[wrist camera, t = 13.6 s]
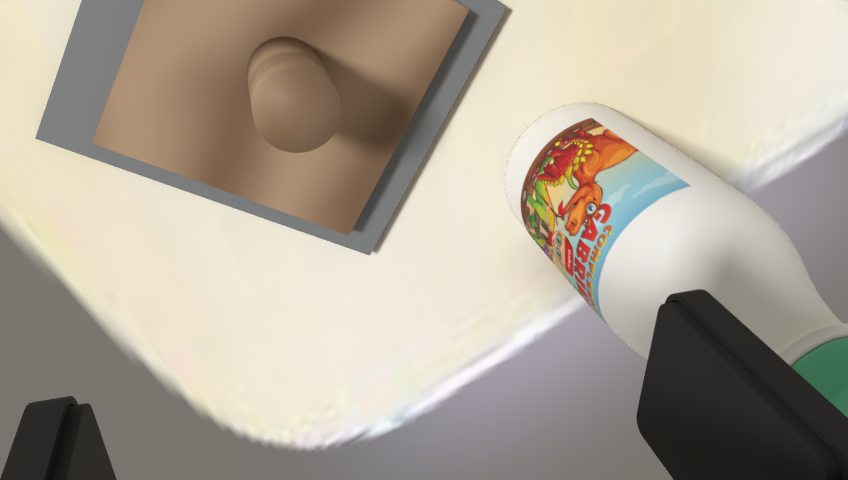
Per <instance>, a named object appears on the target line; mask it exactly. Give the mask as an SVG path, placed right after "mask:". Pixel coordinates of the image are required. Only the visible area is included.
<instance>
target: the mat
mask: <svg viewBox="0 0 848 480" xmlns="http://www.w3.org/2000/svg"><path fill="white" fill-rule="evenodd" d="M454 1H456V2H458V3H459V4H461V5H463V6H465V7H466V8H468V9H470V10H469V12H468V14H467V15H466V17H465V19H464V21H463V23H462V25H461V27H460V29H459V30H458V32H457V34H456V36H455V38H454V40H453V42H452V44H451V45H450V47H449V49H448V51H447V53H446V55H445V57H444V59H443V60H442V62H441V64H440V66H439V68H438V70H437V72H436V73H435V75H434V77H433V79H432V81H431V83H430V85H429V87H428V88H427V90H426V92H425V94H424V96H423V98H422V100H421V102H420V103H419V105H418V107H417V109H416V111H415V113H414V115H413V117H412V118H411V120H410V122H409V124H408V126H407V128H406V130H405V132H404V133H403V135H402V137H401V139H400V141H399V143H398V145H397V147H396V148H395V150H394V152H393V154H392V156H391V158H390V160H389V162H388V163H387V165H386V167H385V169H384V171H383V173H382V175H381V176H380V178H379V180H378V182H377V184H376V186H375V188H374V190H373V191H372V193H371V195H370V197H369V199H368V201H367V203H366V205H365V206H364V208H363V210H362V212H361V214H360V216H359V218H358V220H357V221H356V223H355V225H354V227H353V229H352V231H351V233H350V235H346V234H343V233H340V232H337V231H335V230H332V229H329V228H326V227H324V226H321V225H318V224H315V223H312V222H310V221H307V220H304V219H301V218H298V217H296V216H293V215H290V214H287V213H284V212H282V211H279V210H276V209H273V208H271V207H268V206H265V205H262V204H259V203H257V202H254V201H251V200H248V199H245V198H243V197H240V196H237V195H234V194H232V193H229V192H226V191H223V190H220V189H218V188H215V187H212V186H209V185H206V184H204V183H201V182H198V181H195V180H193V179H190V178H187V177H184V176H181V175H179V174H176V173H173V172H170V171H167V170H165V169H162V168H159V167H156V166H154V165H151V164H148V163H145V162H142V161H140V160H137V159H134V158H131V157H128V156H126V155H123V154H120V153H117V152H115V151H112V150H109V149H106V148H103V147H101V146H98V145H95V144H92V141H93V139H94V136H95V133H96V130H97V128H98V125H99V122H100V120H101V117H102V114H103V111H104V109H105V106H106V103H107V101H108V98H109V95H110V92H111V90H112V87H113V84H114V82H115V79H116V76H117V73H118V71H119V68H120V65H121V63H122V60H123V57H124V54H125V52H126V49H127V46H128V44H129V41H130V38H131V35H132V33H133V30H134V27H135V24H136V22H137V19H138V16H139V14H140V11H141V8H142V5H143V3H144V0H82V1H81V4H80V7H79V10H78V13H77V16H76V19H75V22H74V25H73V28H72V31H71V34H70V37H69V40H68V43H67V46H66V49H65V52H64V55H63V58H62V61H61V64H60V67H59V70H58V73H57V76H56V79H55V82H54V85H53V88H52V91H51V94H50V96H49V99H48V102H47V105H46V108H45V111H44V114H43V117H42V120H41V123H40V126H39V129H38V132H37V135H36V138H35V139H38V140H41V141H44V142H47V143H50V144H53V145H55V146H58V147H61V148H64V149H67V150H70V151H73V152H75V153H78V154H81V155H84V156H87V157H90V158H93V159H95V160H98V161H101V162H104V163H107V164H110V165H113V166H115V167H118V168H121V169H124V170H127V171H130V172H133V173H135V174H138V175H141V176H144V177H147V178H150V179H153V180H156V181H158V182H161V183H164V184H167V185H170V186H173V187H176V188H178V189H181V190H184V191H187V192H190V193H193V194H196V195H198V196H201V197H204V198H207V199H210V200H213V201H216V202H218V203H221V204H224V205H227V206H230V207H233V208H236V209H238V210H241V211H244V212H247V213H250V214H253V215H256V216H258V217H261V218H264V219H267V220H270V221H273V222H276V223H278V224H281V225H284V226H287V227H290V228H293V229H296V230H298V231H301V232H304V233H307V234H310V235H313V236H316V237H318V238H321V239H324V240H327V241H330V242H333V243H336V244H339V245H341V246H344V247H347V248H350V249H353V250H356V251H359V252H361V253H364V254H367V255H370V254H371V252H372V250H373V249H374V247H375V245H376V243H377V241H378V240H379V238H380V236H381V234H382V232H383V230H384V229H385V227H386V225H387V223H388V221H389V220H390V218H391V216H392V214H393V212H394V211H395V209H396V207H397V205H398V203H399V201H400V200H401V198H402V196H403V194H404V192H405V191H406V189H407V187H408V185H409V183H410V182H411V180H412V178H413V176H414V174H415V172H416V171H417V169H418V167H419V165H420V163H421V162H422V160H423V158H424V156H425V154H426V153H427V151H428V149H429V147H430V145H431V144H432V142H433V140H434V138H435V136H436V134H437V133H438V131H439V129H440V127H441V125H442V124H443V122H444V120H445V118H446V116H447V115H448V113H449V111H450V109H451V107H452V105H453V104H454V102H455V100H456V98H457V96H458V95H459V93H460V91H461V89H462V87H463V86H464V84H465V82H466V80H467V78H468V76H469V75H470V73H471V71H472V69H473V67H474V66H475V64H476V62H477V60H478V58H479V57H480V55H481V53H482V51H483V49H484V48H485V46H486V44H487V42H488V40H489V38H490V37H491V35H492V33H493V31H494V29H495V28H496V26H497V24H498V22H499V20H500V19H501V17H502V15H503V13H504V11H505V9H506V8H507V6H506V5H504V4H502V3H501V2H499V1H497V0H454Z"/></svg>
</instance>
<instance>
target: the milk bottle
mask: <svg viewBox="0 0 848 480" xmlns="http://www.w3.org/2000/svg"><path fill="white" fill-rule="evenodd" d="M505 194H506V199H507V202H508V205H509V207H510V209H511V211H512V212H513V214H514V215H515V217H516V218H517V219H518V221H519V222H520V223H521V225H522V226H523V227H524V228H525V230H526V231H527V232H528V233H529V234H530V236H531V237H532V238H533V239H534V240H535V242H536V243H537V244H538V245H539V246H540V248H541V249H542V250H543V251H544V252H545V254H546V255H547V256H548V257H549V258H550V260H551V261H552V262H553V263H554V264H555V265H556V267H557V268H558V269H559V270H560V271H561V273H562V274H563V275H564V276H565V277H566V278H567V280H568V281H569V282H570V283H571V284H572V285H573V287H574V288H575V289H576V290H577V291H578V292H579V294H580V295H581V296H582V297H583V298H584V299H585V301H586V302H587V303H588V304H589V305H590V306H591V307H592V309H593V310H594V311H595V312H596V313H597V314H598V315H599V316H600V317H601V318H602V319H603V320H604V322H605V323H606V324H607V325H608V326H609V327H610V328H611V329H612V330H613V331H614V332H615V333H616V334H617V335H618V336H619V337H620V339H622V340H623V341H624V342H625V343H626V344H628V345H629V346H630V347H631V348H632V349H633V350H635V351H636V352H637V353H639V354H640V355H641V356H643V357H644V358H646V359H647V360H648V357H649V352H650V347H651V342H652V337H653V332H654V327H655V323H656V318H657V313H658V309H659V307H660V306H661V304H664V303H665V301H666V299H667V297H668V296H669V295H671V294H674V293H680V292H685V291H691V290H697V289H702V290H705V291H707V292H708V293H710V294H711V295H712V296H713V297H714V298H715V299H716V300H718V301H719V302H720V303H721V304H722V305H723V306H724V307H725V308H726V309H728V310H729V311H730V312H731V313H732V314H733V315H734V316H735V317H736V318H738V319H739V320H740V321H741V322H742V323H743V324H744V325H745V326H746V327H748V328H749V329H750V330H751V331H752V332H753V333H754V334H755V335H756V336H758V337H759V338H760V339H761V340H762V341H763V342H764V343H765V344H766V345H768V346H769V347H770V348H771V349H772V350H773V351H774V352H775V353H776V354H777V355H779V356H780V357H781V358H782V359H783V360H784V361H785V362H786V363H787V364H789V365H790V366H791V367H792V368H793V369H794V370H795V371H796V372H797V373H799V374H800V375H801V376H802V377H803V378H804V379H805V380H806V381H807V382H809V383H810V384H811V385H812V386H813V387H814V388H815V389H816V390H817V391H819V392H820V393H821V394H822V395H823V396H824V397H825V398H826V399H827V400H829V401H830V402H831V403H832V404H833V405H834V406H835V407H836V408H837V409H839V410H840V411H841V412H842V413H843V414H844V415H845V416H846V417H847V418H848V324H847V323H842V322H841V321H840V320H839V319H838V318H837V317H836V316H835V315H834V314H833V313H832V311H831V310H830V309H829V307H828V306H827V305H826V303H825V302H824V301H823V299H822V298H821V296H820V295H819V293H818V292H817V290H816V288H815V286H814V284H813V283H812V281H811V279H810V277H809V274H808V272H807V270H806V268H805V266H804V263H803V261H802V259H801V257H800V255H799V254H798V251H797V250H796V248H795V246H794V244H793V242H792V241H791V240H790V238H789V237H788V235H787V234H786V232H785V231H784V230H783V229H782V228H781V226H780V225H779V224H778V223H777V222H776V221H775V219H774V218H773V217H772V216H771V215H770V214H768V213H767V212H766V211H765V210H764V209H763V208H762V207H761V206H759V205H758V204H757V203H756V202H755V201H754V200H752V199H751V198H750V197H748V196H747V195H745V194H744V193H742V192H741V191H740V190H738V189H737V188H735V187H734V186H733V185H731V184H730V183H728V182H727V181H725V180H724V179H722V178H721V177H719V176H718V175H716V174H715V173H713V172H712V171H710V170H709V169H707V168H705V167H704V166H702V165H701V164H699V163H698V162H696V161H695V160H693V159H692V158H690V157H689V156H687V155H685V154H684V153H682V152H681V151H679V150H678V149H676V148H675V147H673V146H671V145H670V144H668V143H667V142H665V141H663V140H662V139H660V138H659V137H657V136H656V135H654V134H652V133H651V132H649V131H648V130H646V129H644V128H643V127H641V126H640V125H638V124H636V123H635V122H633V121H632V120H630V119H628V118H627V117H625V116H624V115H622V114H620V113H618V112H617V111H615V110H613V109H611V108H609V107H607V106H604V105H601V104H597V103H589V102H581V103H573V104H568V105H564V106H561V107H559V108H556V109H553V110H551V111H549V112H548V113H546V114H544V115H542V116H541V117H539V118H538V119H537V120H536V121H535V122H533V123H532V124H531V125H530V126H528V128H527V129H526V130H525V131H524V132H523V134H522V135H521V136H520V137H519V139H518V140H517V142H516V144H515V145H514V147H513V149H512V151H511V154H510V156H509V159H508V161H507V167H506V172H505Z"/></svg>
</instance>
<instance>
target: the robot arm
mask: <svg viewBox="0 0 848 480" xmlns="http://www.w3.org/2000/svg"><path fill="white" fill-rule="evenodd" d="M637 424H638V428H639V431H640V433H641V435H642V436H643V437H644V439H645V440H646V442H647V443H648V445H649V446H650V447H651V449H652V450H653V452H654V453H655V454H656V456H657V457H658V458H659V460H660V461H661V463H662V464H663V465H664V467H665V468H666V470H667V471H668V472H669V474H670V475H671V476H672V478H673V479H674V480H848V418H847V417H846V416H845V415H844V414H843V413H842V412H841V411H840V410H839V409H837V408H836V407H835V406H834V405H833V404H832V403H831V402H830V401H829V400H827V399H826V398H825V397H824V396H823V395H822V394H821V393H820V392H819V391H817V390H816V389H815V388H814V387H813V386H812V385H811V384H810V383H809V382H807V381H806V380H805V379H804V378H803V377H802V376H801V375H800V374H799V373H797V372H796V371H795V370H794V369H793V368H792V367H791V366H790V365H789V364H787V363H786V362H785V361H784V360H783V359H782V358H781V357H780V356H779V355H777V354H776V353H775V352H774V351H773V350H772V349H771V348H770V347H769V346H768V345H766V344H765V343H764V342H763V341H762V340H761V339H760V338H759V337H758V336H756V335H755V334H754V333H753V332H752V331H751V330H750V329H749V328H748V327H746V326H745V325H744V324H743V323H742V322H741V321H740V320H739V319H738V318H736V317H735V316H734V315H733V314H732V313H731V312H730V311H729V310H728V309H726V308H725V307H724V306H723V305H722V304H721V303H720V302H719V301H718V300H716V299H715V298H714V297H713V296H712V295H711V294H710V293H708V292H707V291H705V290H702V289H697V290H691V291H685V292H680V293H674V294H671V295H669V296H668V297H667V299H666V301H665V303H664V304H661V306H660V307H659V309H658V313H657V318H656V323H655V327H654V332H653V337H652V342H651V347H650V352H649V357H648V362H647V367H646V371H645V376H644V381H643V386H642V391H641V396H640V401H639V406H638V411H637ZM0 480H116V477H115V474H114V471H113V468H112V465H111V462H110V459H109V456H108V454H107V451H106V448H105V445H104V442H103V439H102V436H101V433H100V430H99V427H98V424H97V421H96V418H95V415H94V413H93V410H92V408H91V406H90V404H87V403H86V404H80V405H78V404H77V401H76V399H75V398H74V397H72V396H68V397H62V398H56V399H50V400H45V401H39V402H33V403H29V404H28V405H27V406H26V408H25V410H24V413H23V416H22V418H21V421H20V424H19V427H18V430H17V433H16V436H15V439H14V442H13V444H12V447H11V450H10V453H9V456H8V459H7V462H6V464H5V467H4V470H3V473H2V476H1V479H0Z"/></svg>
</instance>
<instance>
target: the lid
mask: <svg viewBox="0 0 848 480" xmlns="http://www.w3.org/2000/svg"><path fill="white" fill-rule="evenodd" d="M469 10H470V9H468V8H466V7H465V6H463V5H461V4H459V3H458V2H456V1H454V0H144V3H143V5H142V8H141V11H140V14H139V16H138V19H137V22H136V24H135V27H134V30H133V33H132V35H131V38H130V41H129V44H128V46H127V49H126V52H125V54H124V57H123V60H122V63H121V65H120V68H119V71H118V73H117V76H116V79H115V82H114V84H113V87H112V90H111V92H110V95H109V98H108V101H107V103H106V106H105V109H104V111H103V114H102V117H101V120H100V122H99V125H98V128H97V130H96V133H95V136H94V139H93V141H92V144H95V145H98V146H101V147H103V148H106V149H109V150H112V151H115V152H117V153H120V154H123V155H126V156H128V157H131V158H134V159H137V160H140V161H142V162H145V163H148V164H151V165H154V166H156V167H159V168H162V169H165V170H167V171H170V172H173V173H176V174H179V175H181V176H184V177H187V178H190V179H193V180H195V181H198V182H201V183H204V184H206V185H209V186H212V187H215V188H218V189H220V190H223V191H226V192H229V193H232V194H234V195H237V196H240V197H243V198H245V199H248V200H251V201H254V202H257V203H259V204H262V205H265V206H268V207H271V208H273V209H276V210H279V211H282V212H284V213H287V214H290V215H293V216H296V217H298V218H301V219H304V220H307V221H310V222H312V223H315V224H318V225H321V226H324V227H326V228H329V229H332V230H335V231H337V232H340V233H343V234H346V235H350V233H351V231H352V229H353V227H354V225H355V223H356V221H357V220H358V218H359V216H360V214H361V212H362V210H363V208H364V206H365V205H366V203H367V201H368V199H369V197H370V195H371V193H372V191H373V190H374V188H375V186H376V184H377V182H378V180H379V178H380V176H381V175H382V173H383V171H384V169H385V167H386V165H387V163H388V162H389V160H390V158H391V156H392V154H393V152H394V150H395V148H396V147H397V145H398V143H399V141H400V139H401V137H402V135H403V133H404V132H405V130H406V128H407V126H408V124H409V122H410V120H411V118H412V117H413V115H414V113H415V111H416V109H417V107H418V105H419V103H420V102H421V100H422V98H423V96H424V94H425V92H426V90H427V88H428V87H429V85H430V83H431V81H432V79H433V77H434V75H435V73H436V72H437V70H438V68H439V66H440V64H441V62H442V60H443V59H444V57H445V55H446V53H447V51H448V49H449V47H450V45H451V44H452V42H453V40H454V38H455V36H456V34H457V32H458V30H459V29H460V27H461V25H462V23H463V21H464V19H465V17H466V15H467V14H468V12H469Z"/></svg>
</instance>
